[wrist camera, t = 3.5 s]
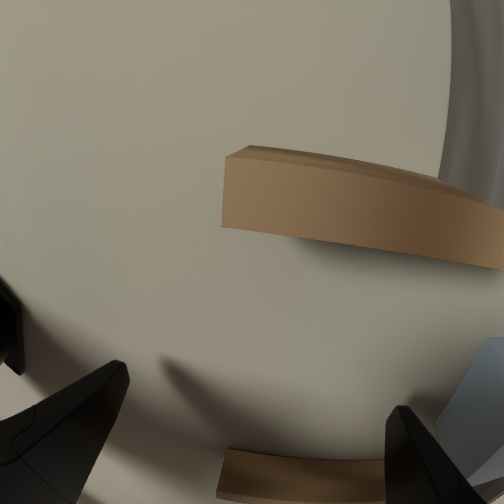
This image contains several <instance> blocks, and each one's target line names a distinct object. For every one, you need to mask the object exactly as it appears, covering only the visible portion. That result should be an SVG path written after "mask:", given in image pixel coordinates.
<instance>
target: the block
mask: <svg viewBox="0 0 504 504" xmlns="http://www.w3.org/2000/svg"><path fill="white" fill-rule="evenodd" d="M434 424H435V427H436V431H437V435H438V438H439V442H440V446H441V447H442V449H443V450H444V451H445V453H446V454H447V455H448V456H449V458H450V459H451V460H452V462H453V463H454V464H455V465H456V467H457V468H458V469H459V471H460V472H461V473H462V475H463V476H464V477H465V478H466V480H467V481H468V482H469V483H470V485H471V486H476V485H479V484H482V483H485V482H488V481H491V480H494V479H497V478H500V477H503V476H504V337H486V339H485V341H484V343H483V345H482V347H481V349H480V351H479V353H478V354H477V356H476V358H475V360H474V362H473V363H472V365H471V367H470V369H469V370H468V372H467V374H466V375H465V377H464V379H463V380H462V382H461V383H460V385H459V387H458V388H457V390H456V391H455V393H454V394H453V396H452V397H451V399H450V400H449V402H448V403H447V405H446V406H445V408H444V409H443V411H442V412H441V413H440V415H439V416H438V418H437V419H436V420H435V422H434Z"/></svg>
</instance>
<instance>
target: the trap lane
mask: <svg viewBox="0 0 504 504" xmlns="http://www.w3.org/2000/svg"><path fill="white" fill-rule="evenodd" d="M450 5H451V25H452V63H451V84H450V98H449V108H448V118H447V126H446V134H445V141H444V147H443V154H442V160H441V165H440V171H439V176H438V178H435V177H431V176H427V175H423V174H419V173H414V172H410V171H406V170H402V169H397V168H393V167H388V166H383V165H378V164H374V163H368V162H363V161H358V160H353V159H347V158H341V157H335V156H329V155H323V154H316V153H310V152H302V151H295V150H287V149H279V148H271V147H261V146H251V145H250V146H248V147H245V148H243V149H241V150H239V151H237V152H235V153H233V154H231V155H229V156H227V157H226V161H225V176H224V191H223V208H222V226H221V227H227V228H235V229H242V230H250V231H257V232H264V233H272V234H279V235H286V236H293V237H300V238H307V239H314V240H321V241H328V242H335V243H341V244H348V245H355V246H361V247H368V248H374V249H380V250H387V251H393V252H399V253H405V254H412V255H418V256H424V257H430V258H436V259H442V260H448V261H453V262H459V263H465V264H471V265H476V266H482V267H488V268H493V269H499V270H504V0H450ZM472 487H473V488H474V489H475V491H476V492H477V493H478V494H479V495H480V496H481V497H482V498H483V499H484V500H485V501H486V502H487V504H490V503H492V502H493V501H495V500H496V499H497V498H499V497H500V496H502V495H503V494H504V476H503V477H500V478H497V479H494V480H491V481H488V482H485V483H482V484H479V485H476V486H472ZM216 498H219V499H224V500H229V501H235V502H241V503H247V504H386V493H385V471H384V460H371V461H340V460H316V459H302V458H291V457H281V456H273V455H265V454H258V453H252V452H245V451H239V450H234V449H229V448H227V451H226V455H225V459H224V463H223V467H222V471H221V475H220V479H219V482H218V486H217V490H216Z"/></svg>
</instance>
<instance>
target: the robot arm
mask: <svg viewBox="0 0 504 504" xmlns="http://www.w3.org/2000/svg"><path fill="white" fill-rule="evenodd" d="M3 362H4V363H5V364H6V365H7V366H8V367H10V368H11V369H12V370H13V371H14V372H15V373H16V374H18V375H19V376H21V375H22V374H23V373H24V371H25V368H24V358H23V346H22V329H21V309H20V307H19V305H18V303H17V302H16V300H15V299H14V298H13V297H12V296H10V295H9V294H8V293H7V292H6V291H5V290H4V289H3V288H2V287H1V286H0V365H1V364H2V363H3ZM129 383H130V377H129V374H128V370H127V366H126V364H125V363H124V362H122V361H119V360H112V361H111V362H109V363H107V364H105V365H104V366H102V367H100V368H98V369H97V370H95V371H93V372H92V373H90V374H88V375H86V376H85V377H83V378H81V379H79V380H78V381H76V382H74V383H72V384H71V385H69V386H67V387H65V388H64V389H62V390H60V391H58V392H57V393H55V394H53V395H51V396H49V397H48V398H46V399H44V400H42V401H40V402H39V403H37V404H36V405H33V406H31V407H30V408H28V409H26V410H24V411H22V412H20V413H18V414H16V415H14V416H11V417H9V418H7V419H5V420H2V421H0V504H76V502H77V500H78V498H79V496H80V494H81V491H82V489H83V487H84V485H85V483H86V481H87V479H88V476H89V474H90V472H91V470H92V468H93V466H94V464H95V462H96V460H97V458H98V456H99V453H100V451H101V449H102V447H103V445H104V443H105V441H106V439H107V437H108V435H109V433H110V431H111V429H112V427H113V425H114V423H115V421H116V419H117V416H118V413H119V411H120V408H121V405H122V402H123V400H124V397H125V394H126V391H127V389H128V386H129ZM384 471H385V493H386V504H487V502H486V501H485V500H484V499H483V498H482V497H481V496H480V495H479V494H478V493H477V492H476V491H475V489H474V488H473V487H472V486H471V485H470V483H469V482H468V481H467V480H466V478H465V477H464V476H463V475H462V473H461V472H460V471H459V469H458V468H457V467H456V465H455V464H454V463H453V462H452V460H451V459H450V458H449V456H448V455H447V454H446V453H445V451H444V450H443V449H442V447H441V446H440V445H439V444H438V442H437V441H436V440H435V439H434V437H433V436H432V435H431V434H430V432H429V431H428V430H427V429H426V427H425V426H424V425H423V424H422V422H421V421H420V420H419V419H418V417H417V416H416V415H415V414H414V412H413V411H412V410H411V409H410V407H408V406H406V405H398V406H396V407H395V408H394V410H393V411H392V413H391V414H390V416H389V417H388V419H387V421H386V427H385V455H384Z"/></svg>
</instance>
